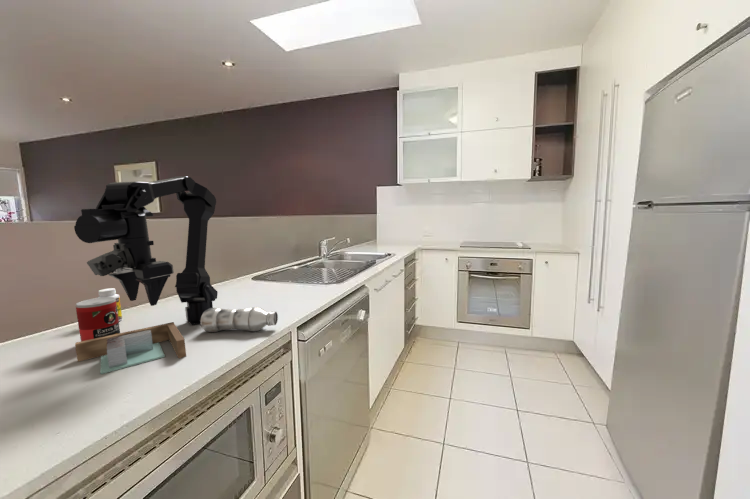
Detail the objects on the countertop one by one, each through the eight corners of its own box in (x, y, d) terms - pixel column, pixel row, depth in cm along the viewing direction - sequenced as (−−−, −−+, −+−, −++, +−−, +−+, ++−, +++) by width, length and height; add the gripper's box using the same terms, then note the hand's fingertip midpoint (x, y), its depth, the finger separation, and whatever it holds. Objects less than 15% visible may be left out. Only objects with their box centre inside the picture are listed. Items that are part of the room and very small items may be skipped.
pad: (159, 343, 79) (158, 342, 79) (164, 357, 71) (164, 355, 71) (101, 357, 72) (101, 356, 72) (100, 374, 64) (100, 372, 64)
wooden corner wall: (175, 336, 83) (173, 321, 83) (186, 356, 71) (184, 339, 71) (78, 359, 71) (75, 342, 71) (72, 387, 59) (69, 367, 59)
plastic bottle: (213, 317, 91) (281, 316, 91) (203, 337, 86) (275, 335, 85) (204, 302, 87) (275, 301, 87) (193, 322, 82) (269, 320, 81)
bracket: (109, 355, 72) (107, 338, 71) (152, 345, 77) (150, 329, 76) (109, 368, 66) (106, 350, 65) (155, 356, 71) (153, 339, 70)
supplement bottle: (116, 324, 94) (111, 291, 93) (94, 326, 93) (90, 292, 92) (126, 318, 100) (122, 286, 99) (106, 320, 99) (101, 288, 97)
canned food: (98, 349, 76) (92, 305, 75) (72, 347, 78) (66, 304, 77) (128, 337, 84) (123, 297, 82) (104, 335, 85) (99, 296, 84)
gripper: (70, 240, 70) (82, 308, 72) (110, 243, 61) (122, 320, 63) (128, 235, 79) (137, 294, 82) (170, 237, 70) (179, 304, 73)
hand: (143, 302), depth 75 cm, fingers open, 9 cm apart
